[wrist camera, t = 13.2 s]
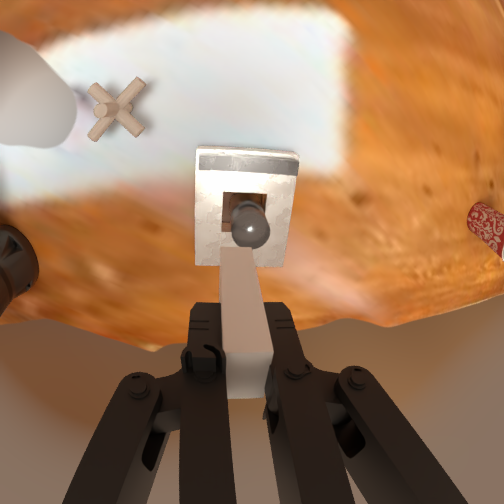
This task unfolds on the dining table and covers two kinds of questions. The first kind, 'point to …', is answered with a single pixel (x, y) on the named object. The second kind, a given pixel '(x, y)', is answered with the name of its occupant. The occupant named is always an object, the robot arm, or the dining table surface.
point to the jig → (248, 181)
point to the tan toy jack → (115, 109)
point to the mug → (488, 226)
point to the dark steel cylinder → (248, 220)
